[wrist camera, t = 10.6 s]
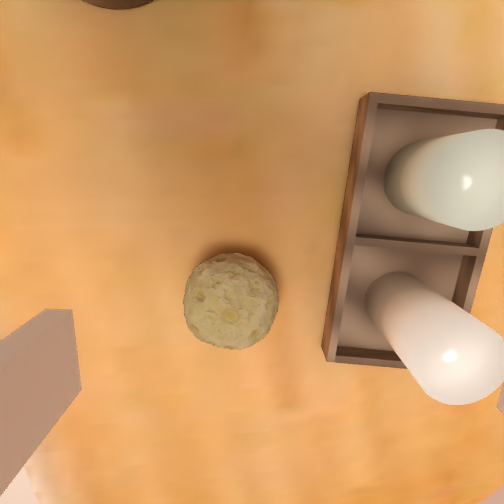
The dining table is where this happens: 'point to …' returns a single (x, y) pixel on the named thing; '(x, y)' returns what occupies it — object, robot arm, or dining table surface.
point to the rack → (397, 223)
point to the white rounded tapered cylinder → (436, 339)
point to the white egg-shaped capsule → (451, 179)
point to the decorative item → (230, 301)
